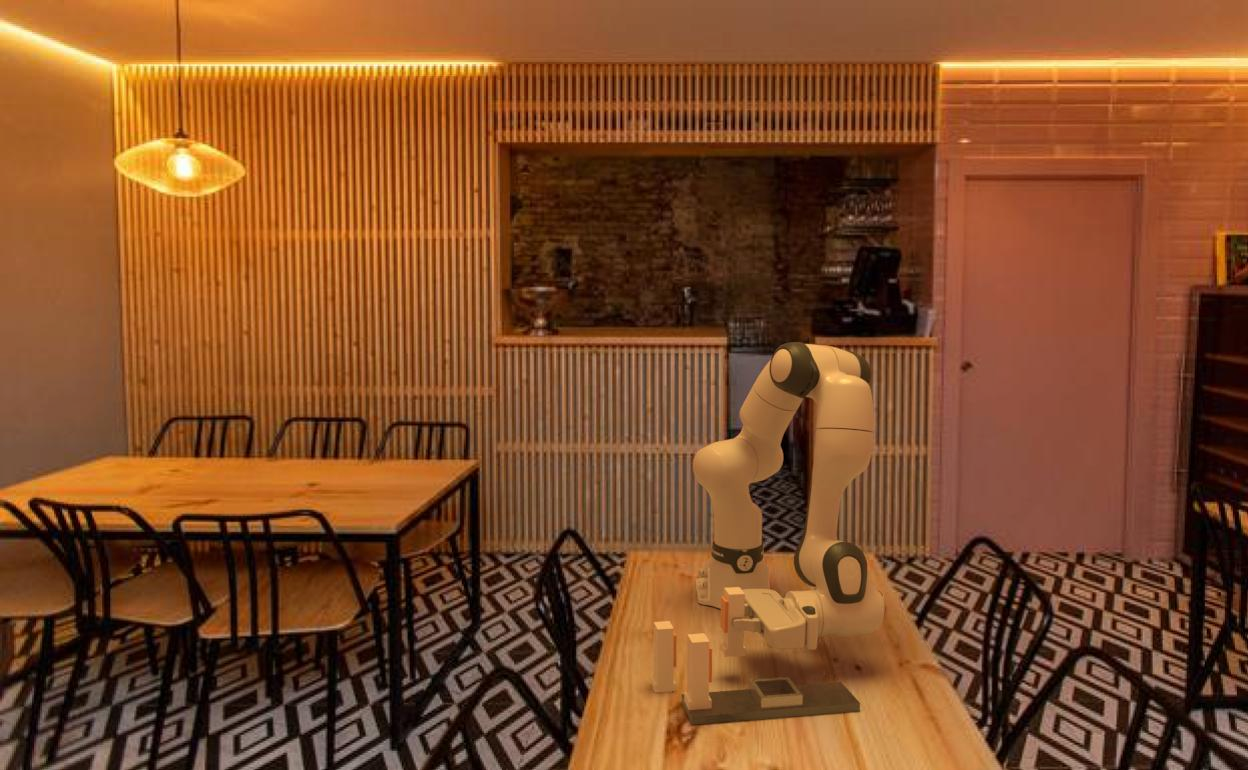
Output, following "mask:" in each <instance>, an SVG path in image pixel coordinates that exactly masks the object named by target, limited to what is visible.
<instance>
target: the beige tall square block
mask: <svg viewBox="0 0 1248 770" xmlns="http://www.w3.org/2000/svg"><path fill="white" fill-rule="evenodd" d="M744 607H745V593H744V592H743V591H742V590H741V588H740V587H730V588H724V596H721V609H720V628H721V630H722V640H720V641H719V650H720V651H721V653H722V654H723V656H724V657H725V658H727V657H741V656H742V657H744V656H746V655H747V654H746V653H747V648H746V646H745V644H744V640H745V639H744V638H745V637H744V633H745V632H744V631H745V630H735V629H734V628H733V626H732V619H733V618H737V617H741V618H742V619H745V616H744Z"/></svg>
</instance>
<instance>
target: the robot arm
mask: <svg viewBox="0 0 1248 770" xmlns="http://www.w3.org/2000/svg"><path fill="white" fill-rule="evenodd" d="M871 375H872V374H871V366H870V365H869V362H868V361H867V359H866V358H865V357H863V356H862V355H861V354H859V353H856V352H854V351H851V350H844V349H842V348H838V347H835V346H830V345H826V344H822V345H820V344H814V343H805V342H801V341H792V342H786V343H783V344H781V345H779V346H778V347H777V348H776V349H775V351H774V353H773V354H772V357H771V358H770V359H769V361H768V362H767V363H766V364H765V366H764V367H763V369H762V371H760V373H759V374H758V376H757V378H756V380H755V382H754V384H753V385H752V386H751V388H750V390H749V393H748V394H747V396H746V397H745V399H744V402H743V404H742V405H741V407H740V408H739V419H740V421H741V423H742V427H741V430H740V433H738V435H737V436H735V437H733V438H729V439H724V440H720V441H715V442H712V443H710V444H708V445H705V446H704V447H702V448H700V449H699V450H698V451H697V452H696V453H695V455H694V457H693V460H692V471H693V475H694V478H695V479H696V481H697V483H698V484H699V485H700V486H702V487H703V488H704V489H705V491H707V493H708V496H709V499H710V502H711V504H712V509H713V521H714V523H713V525H714V527H713V528H714V529H713V531H714V533H713V535H714V536H713V537H714V538H713V539H714V540H713V541H712V545H711V551H710V553H711V556H710V557H709V558H708V559H707V560H706V562H704V567H700V568H698V577H699V578H696V579H695V591H696V598H697V603H698V604H701V605H702V606H703V605H704V606H705V605H706V606H711V607H713V608H717V609H720V610H721V596H724V588H730V587H740V588H741V590H742V591H743V592H744V593H745V607H744V617H746V618H744V619H742V618H741V617H737V618H733V619H732V626H733V628H734V629H735V630H744V631H747V632H752V633H759V635H760V636H761V638H762V639H763V640H764V642H765V643H766V644H767V646H768V647H770V648H772V649H776V650H798V649H806V650H807V651H810V650H811V651H813V650H817V647H818V639H820V638H824V637H825V636H826V637H827V636H834V637H839V638H840V637H853V636H861V635H865V634H869V633H873V632H875V631H877V629H879V628H880V627H881V625H882V623H883V622H884V619H885V615H886V614H885V612H886V605H885V604H886V603H885V604H884V599H883V596H882V595H881V593H880V592H881V591H880V590H879V589H878V588H877V587H876V586H875V584H874V582H873V580H872V578H871V575H870V572H869V570H868V562H867V558H866V556H865V553H864V551H862V549H861V548H860V547H858V546H857V545H855V544H854V543H851V542H849V541H843V540H838V536H837V530H838V521H839V514H840V506H841V498H842V495H843V494H844V493H843V492H844V491H845V490H846V488H847V486H848V485H849V484H850V483H851V482H852V481H853V480H854V479H855V478H857V477H858V476H860V475H861V474H862V473H863V472H864V471H866V469H867V468H868V467H869V465H870V462H871V458H872V454H873V449H874V438H875V437H874V436H875V434H874V433H875V414H874V413H875V411H874V401H873V395H872V389H871V386H870V382H871ZM804 398H810V399H812V400H813V401H814V403H815V405H816V407H817V408H816V412H817V413H816V423H815V438H814V457H813V465H812V474H811V478H810V484H809V490H808V498H807V499H808V501H807V507H806V516H805V523H804V530H803V534H802V536H801V538H800V541H799V542H798V544H797V547H796V548H795V552H794V555H793V565H794V567H793V568H794V569H795V572H796V574H797V576H798V578H799V579H800V580H801V581H802V582H803V583H805V584H806V585H807V586H810V587H813V588H815V589H807V590H790V591H789V590H788V591H787V592H786V594H785V595H782V594H779V592H777V591H776V590H774V589H771V585H770V583H771V581H770V567H769V565H768V564H767V563H766V562H765V561H764V552H765V548H764V543H763V542H762V539H763V537H762V535H763V512H762V510H761V508H760V507H759V505H757V504H756V503H754V502H753V501H752V498H751V493H750V488H749V487H750V484H754V483H757V482H761V481H764V480H767V479H768V478H770V477H773V475H774V474H777V473H778V472H779V471H780V469H781V468H782V466H783V464H784V463H783V462H784V452H783V449H782V447H781V445H782V444H781V443H782V440H783V437H784V434H785V432H786V431H787V428H788V427H789V425H790V424H791V421H792V420H793V418H794V416H795V415H796V413H797V411H798V410H799V408H800V406H801V404H802V402H803V401H804ZM878 590H879V591H880V592H879V591H878Z"/></svg>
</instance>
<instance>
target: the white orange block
mask: <svg viewBox="0 0 1248 770" xmlns="http://www.w3.org/2000/svg"><path fill="white" fill-rule="evenodd" d="M676 667H677V634H676V632H675V629H674V627H673V624H672V623H671V620H665V621H663V620H662V621H653V676H652V675H651V676H650V684H651V685H650V686H651V687H652V690H653V693H654V692H655V693H654V694H659V693H660V692H661V693H673V692H674V693H675V692H677V682H676V681H675V677H674V674H675V673H674V668H676ZM672 691H673V692H672Z"/></svg>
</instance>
